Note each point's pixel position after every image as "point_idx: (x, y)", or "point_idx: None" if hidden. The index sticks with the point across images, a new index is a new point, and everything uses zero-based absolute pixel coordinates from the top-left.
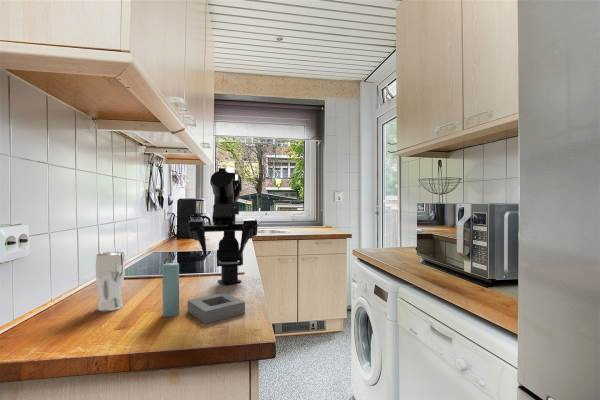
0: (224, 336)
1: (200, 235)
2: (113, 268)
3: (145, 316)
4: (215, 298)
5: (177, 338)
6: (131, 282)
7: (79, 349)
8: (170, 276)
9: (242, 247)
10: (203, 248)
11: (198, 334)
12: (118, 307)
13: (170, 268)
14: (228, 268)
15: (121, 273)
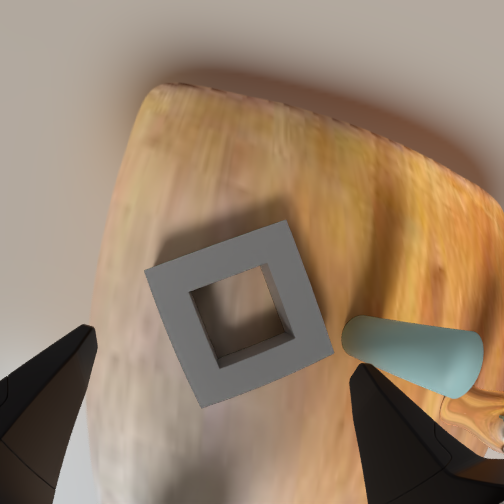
0: (235, 133)
1: (481, 467)
2: None
3: None
4: (241, 359)
5: (336, 166)
6: None
7: (461, 199)
8: (438, 327)
9: (46, 356)
10: (403, 399)
11: (293, 166)
12: None
13: (461, 330)
14: None
15: (499, 417)
